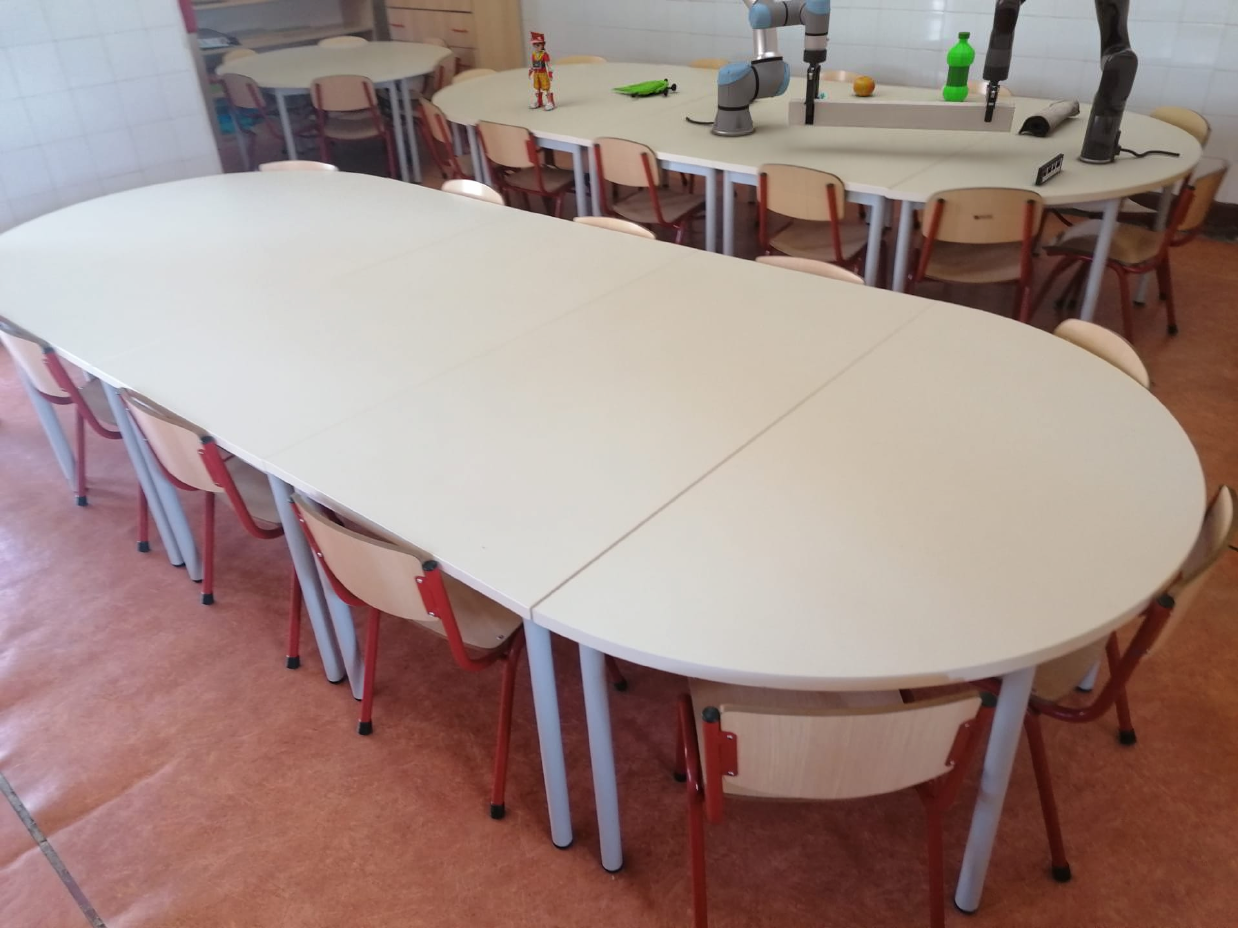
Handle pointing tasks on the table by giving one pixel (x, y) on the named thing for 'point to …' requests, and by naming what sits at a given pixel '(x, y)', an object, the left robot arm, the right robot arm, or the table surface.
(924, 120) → the bar
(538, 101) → the toy
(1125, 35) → the right robot arm
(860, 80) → the fruit
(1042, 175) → the midi keyboard
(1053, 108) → the rolled mat
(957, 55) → the plastic bottle
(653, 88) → the toy
